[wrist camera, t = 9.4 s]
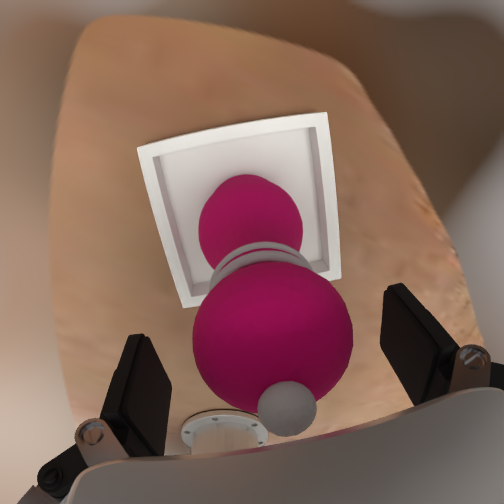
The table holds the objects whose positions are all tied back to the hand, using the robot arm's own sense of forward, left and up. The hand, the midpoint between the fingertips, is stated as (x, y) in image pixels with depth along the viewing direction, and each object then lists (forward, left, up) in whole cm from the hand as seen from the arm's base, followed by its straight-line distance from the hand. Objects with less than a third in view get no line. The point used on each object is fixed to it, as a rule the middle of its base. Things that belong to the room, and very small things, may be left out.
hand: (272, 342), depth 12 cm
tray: (0, 0, -17) cm, 17 cm away
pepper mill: (0, 0, -16) cm, 16 cm away
